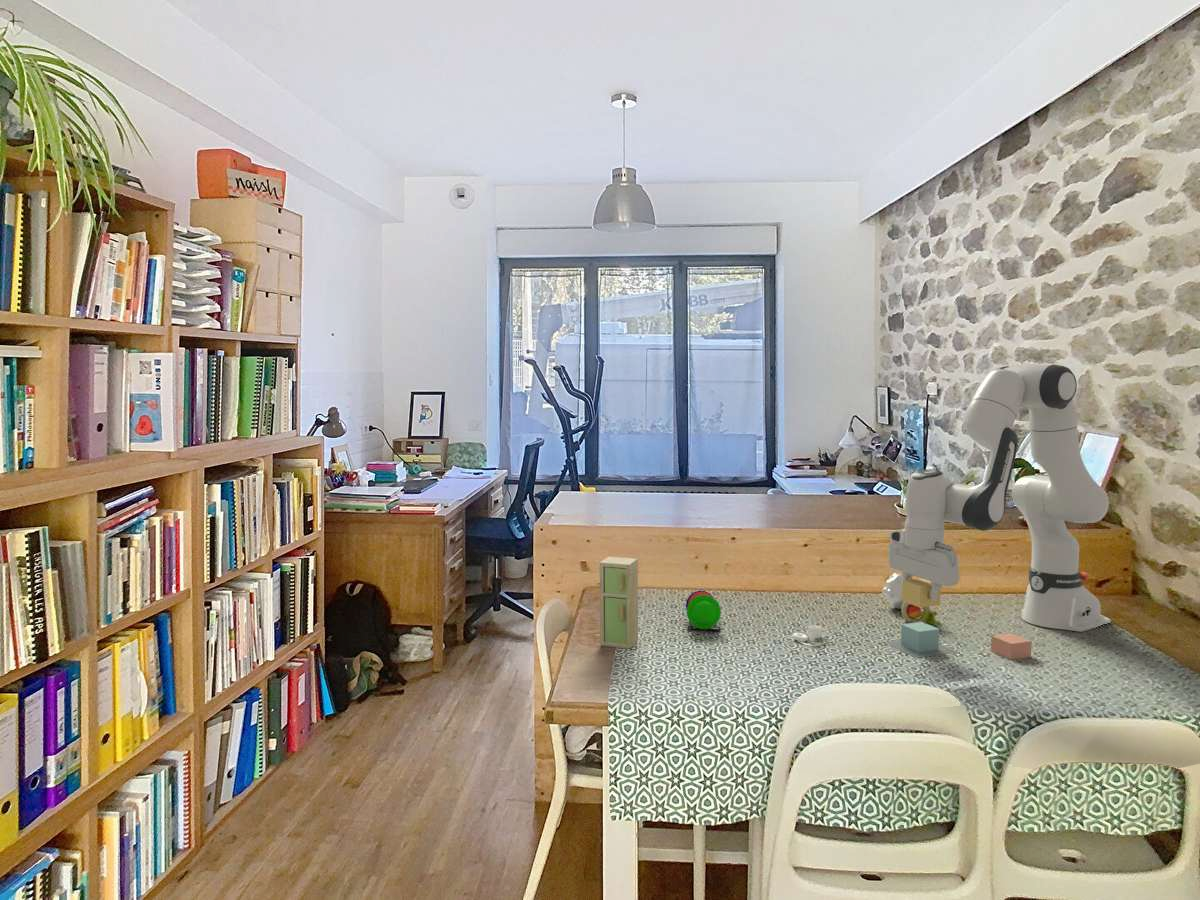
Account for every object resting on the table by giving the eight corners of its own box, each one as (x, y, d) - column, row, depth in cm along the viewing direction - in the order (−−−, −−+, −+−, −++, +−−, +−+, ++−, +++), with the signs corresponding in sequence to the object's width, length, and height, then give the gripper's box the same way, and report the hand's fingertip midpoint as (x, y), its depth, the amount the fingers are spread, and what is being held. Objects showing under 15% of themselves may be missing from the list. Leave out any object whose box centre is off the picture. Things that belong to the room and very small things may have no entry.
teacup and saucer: (788, 642, 209) (789, 626, 209) (804, 634, 215) (805, 619, 214) (820, 650, 203) (821, 634, 203) (836, 642, 209) (836, 626, 208)
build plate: (921, 641, 208) (922, 636, 208) (957, 657, 197) (957, 652, 197) (882, 646, 204) (882, 642, 204) (916, 663, 193) (916, 658, 193)
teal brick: (920, 641, 205) (921, 621, 204) (938, 649, 199) (939, 629, 198) (900, 644, 202) (901, 624, 202) (918, 652, 197) (918, 631, 196)
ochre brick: (922, 598, 203) (922, 578, 203) (939, 605, 198) (940, 584, 197) (902, 600, 201) (902, 580, 201) (919, 607, 196) (920, 586, 195)
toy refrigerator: (598, 646, 204) (598, 562, 202) (608, 637, 211) (608, 556, 209) (629, 650, 201) (629, 565, 199) (638, 641, 208) (638, 558, 206)
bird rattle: (913, 637, 218) (947, 625, 217) (897, 598, 217) (930, 586, 216) (907, 630, 224) (939, 618, 223) (891, 592, 224) (924, 580, 222)
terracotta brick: (1010, 653, 200) (1011, 633, 200) (1030, 661, 195) (1031, 641, 194) (990, 656, 198) (991, 635, 198) (1010, 664, 193) (1011, 643, 192)
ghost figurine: (887, 602, 243) (888, 568, 242) (921, 607, 238) (922, 573, 237) (877, 609, 236) (879, 574, 235) (912, 615, 230) (913, 579, 229)
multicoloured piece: (685, 625, 228) (688, 633, 214) (681, 591, 229) (684, 596, 214) (718, 623, 228) (723, 630, 213) (714, 588, 229) (719, 593, 214)
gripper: (967, 546, 189) (964, 605, 191) (905, 529, 208) (903, 584, 210) (945, 548, 187) (942, 608, 189) (884, 531, 206) (882, 586, 208)
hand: (921, 595), depth 199 cm, fingers closed on ochre brick, 6 cm apart
